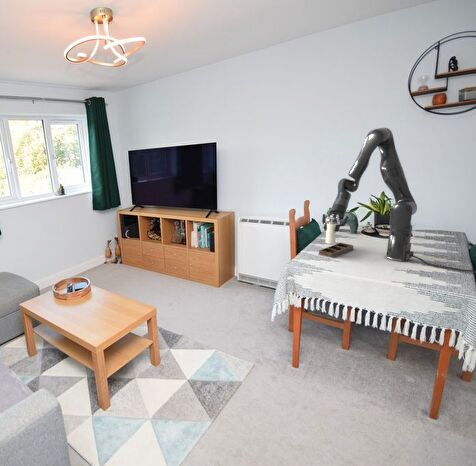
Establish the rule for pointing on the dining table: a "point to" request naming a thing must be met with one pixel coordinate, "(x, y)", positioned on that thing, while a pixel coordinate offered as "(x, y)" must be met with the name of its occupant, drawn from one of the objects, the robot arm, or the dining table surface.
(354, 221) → the ceramic cat
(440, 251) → the dining table surface
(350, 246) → the tray
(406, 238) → the robot arm
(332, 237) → the dispenser
